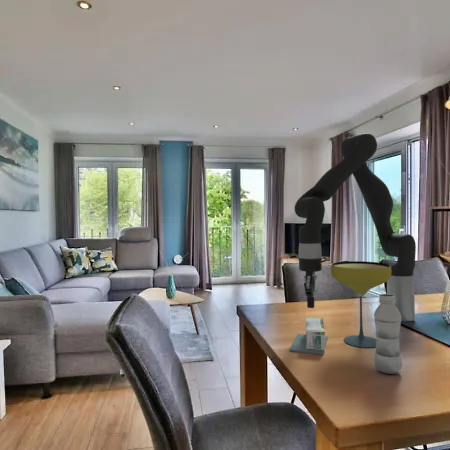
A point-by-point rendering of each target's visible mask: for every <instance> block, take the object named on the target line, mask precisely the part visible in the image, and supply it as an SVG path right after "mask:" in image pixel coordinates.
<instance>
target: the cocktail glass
mask: <svg viewBox="0 0 450 450" xmlns="http://www.w3.org/2000/svg"><path fill="white" fill-rule="evenodd" d="M391 266H392V265H391V264H388V263H383V262H375V261H365V260H364V261H357V260H352V261H350V260H349V261H337V262H333V263H332V264H331V266H330V273H331V276H332V278H334V279H335V281H337V282H339V283H340V284H342V285H345V286H347V287H348V288H349V289H352V290H353V291H354V293H355V294H356V295H357V296H358V297H359V334H358V335H357V334H354V335H353V334H352V335H348V336H345V337H344V338H343V341H344V343H345V344H347V345H349V346H351V345H352V346H353V347H356V348H363V349H370V348H373V349H374V348H376V340H377V339H376V338H374V337H372V336H368V335H364V334H365V333H364V330H363V328H364V327H363V298H362V297H364V296H365V295H366V294H367V293H368V292H369V291H370V290H371V289H374V288H376V287H379V286H381V285H383V284H385V283H387V281H388V280H389V279H390V277H391ZM352 346H351V347H352Z"/></svg>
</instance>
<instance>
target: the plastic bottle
mask: <svg viewBox="0 0 450 450" xmlns="http://www.w3.org/2000/svg"><path fill="white" fill-rule="evenodd" d="M378 296H379V298H378V302H379V304H378V306H377V308H376V309H375V311H374V312H373V313H374V314H373V319H374V324H375V325H374V326H375V334H376V338H375V339H377V340H376V347H375V352H374V357H373V362H374V367H375V368H376V370H377V371H379V372H381V373H383V374H387V375H388V374H390V375H394V374H398V373H400V371H401V370H402V366H403V362H402V356H401V351H400V350H401V349H400V330H401V323H402V321H401V314H400V312H399V310H398V309H397V308H396V306H395V305H394V304H395V296H394V295H391V294H387V293H381V294H379V295H378Z"/></svg>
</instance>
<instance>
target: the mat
mask: <svg viewBox="0 0 450 450" xmlns="http://www.w3.org/2000/svg"><path fill="white" fill-rule="evenodd" d="M327 341H328V336H326V335H325V347H326V345H327ZM288 351H289V352H295V353H300V354H301V353H303V354H309V355H310V354H312V355H318V356H319V355H320V356H324V353H325V350H317V349H306V333H305V334H302V333H297V334H296V335H295V338H293V341H292V343H291V345H290V347H289V349H288Z"/></svg>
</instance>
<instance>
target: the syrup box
mask: <svg viewBox="0 0 450 450" xmlns="http://www.w3.org/2000/svg"><path fill="white" fill-rule="evenodd" d="M305 335H306V349H317V350H324V351H325V349H326V346H325V336H326V330H325V324H324V318H322V317H321V318H320V317H305Z"/></svg>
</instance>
